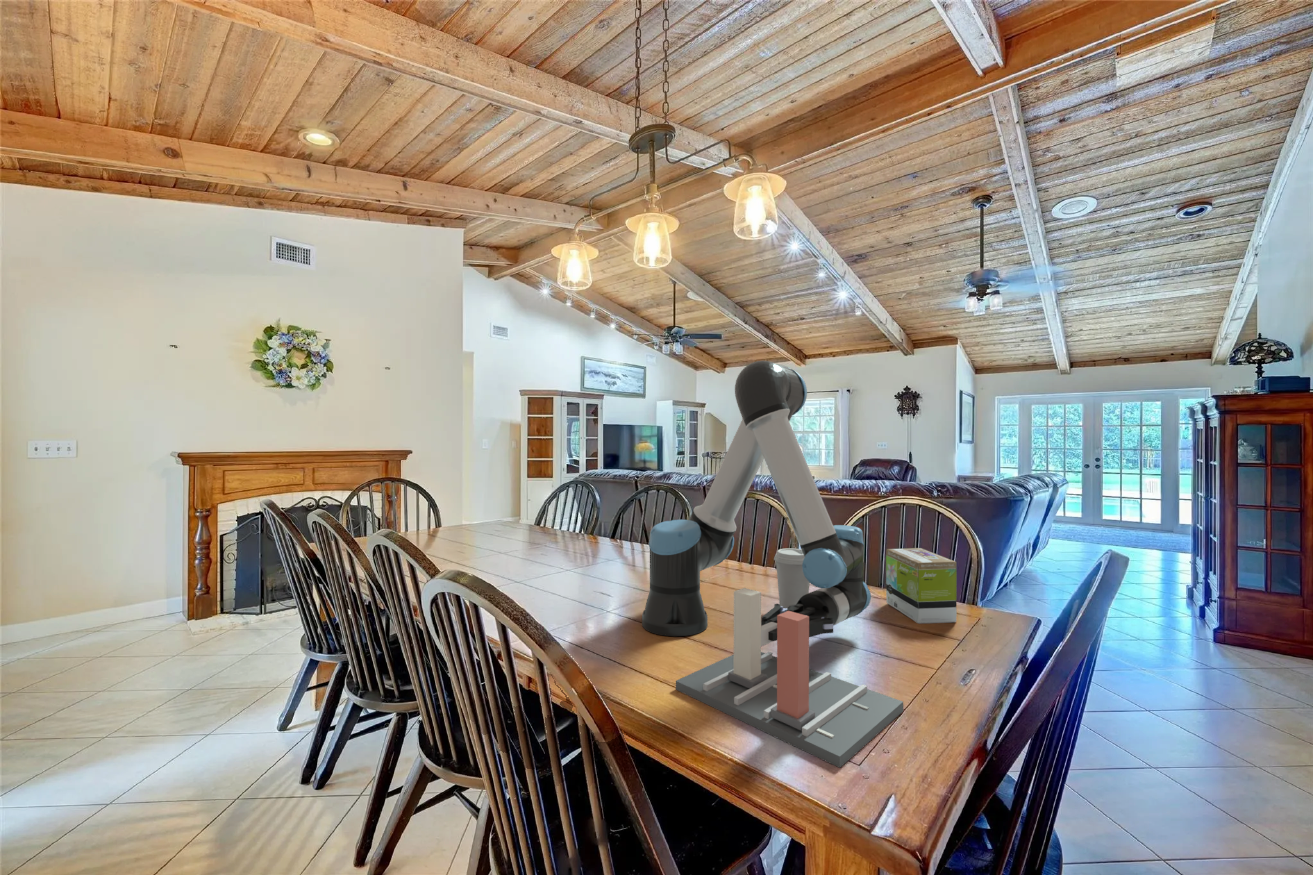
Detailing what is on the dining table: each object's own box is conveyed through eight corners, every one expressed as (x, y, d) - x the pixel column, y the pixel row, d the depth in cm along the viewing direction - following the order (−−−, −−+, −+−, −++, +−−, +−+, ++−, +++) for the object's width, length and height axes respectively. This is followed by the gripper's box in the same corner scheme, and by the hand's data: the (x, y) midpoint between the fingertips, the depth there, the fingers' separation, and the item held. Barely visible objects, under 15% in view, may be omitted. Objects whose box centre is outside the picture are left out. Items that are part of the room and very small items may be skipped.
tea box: (884, 604, 139) (884, 547, 139) (921, 603, 140) (921, 547, 140) (917, 624, 124) (917, 561, 124) (958, 623, 125) (958, 560, 125)
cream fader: (728, 679, 91) (728, 590, 91) (742, 672, 94) (742, 586, 94) (752, 689, 88) (752, 597, 88) (766, 681, 90) (766, 592, 90)
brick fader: (770, 716, 79) (771, 614, 79) (785, 707, 82) (785, 608, 82) (800, 730, 75) (801, 623, 75) (815, 719, 78) (815, 616, 78)
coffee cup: (815, 619, 127) (815, 556, 127) (774, 616, 129) (774, 554, 129) (811, 607, 136) (811, 548, 136) (773, 604, 138) (773, 546, 138)
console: (675, 689, 92) (675, 674, 92) (748, 654, 106) (748, 642, 106) (839, 767, 70) (839, 748, 70) (903, 710, 85) (903, 695, 85)
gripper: (852, 636, 104) (786, 673, 87) (793, 619, 113) (723, 650, 97) (852, 597, 104) (786, 627, 87) (793, 584, 113) (724, 609, 97)
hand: (753, 639), depth 92 cm, fingers closed
